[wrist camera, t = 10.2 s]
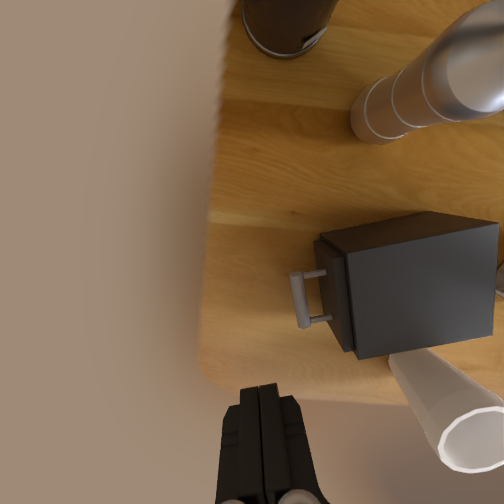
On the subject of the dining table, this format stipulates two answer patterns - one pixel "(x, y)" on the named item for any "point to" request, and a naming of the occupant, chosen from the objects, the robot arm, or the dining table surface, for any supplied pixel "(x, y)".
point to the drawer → (326, 294)
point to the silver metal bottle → (439, 81)
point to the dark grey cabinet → (418, 281)
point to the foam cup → (452, 410)
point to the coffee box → (500, 281)
